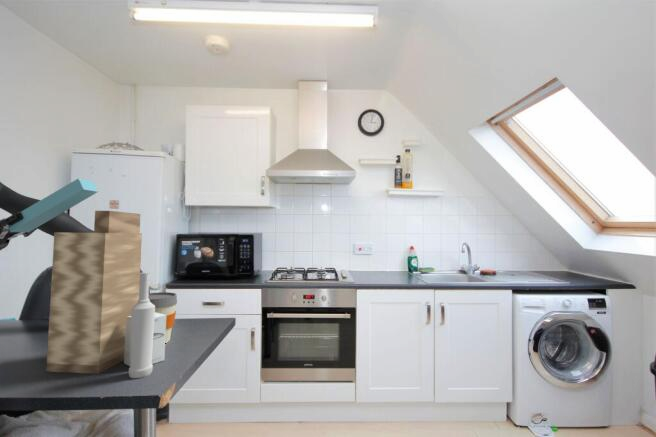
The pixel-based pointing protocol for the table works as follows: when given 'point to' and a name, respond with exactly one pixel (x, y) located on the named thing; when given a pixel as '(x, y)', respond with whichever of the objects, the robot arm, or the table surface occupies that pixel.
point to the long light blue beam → (54, 205)
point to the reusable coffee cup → (165, 308)
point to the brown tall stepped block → (93, 293)
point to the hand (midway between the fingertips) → (31, 215)
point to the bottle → (142, 332)
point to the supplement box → (158, 339)
